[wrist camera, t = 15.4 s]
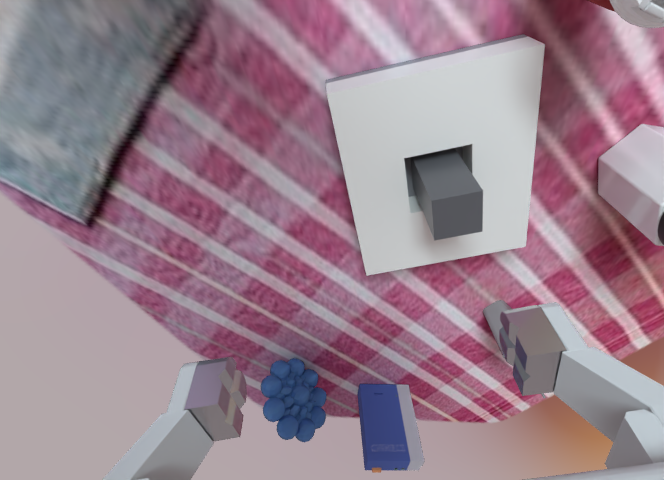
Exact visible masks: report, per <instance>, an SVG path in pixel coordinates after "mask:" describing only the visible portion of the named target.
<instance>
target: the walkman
mask: <svg viewBox="0 0 664 480" xmlns="http://www.w3.org/2000/svg"><path fill="white" fill-rule="evenodd" d="M358 404H359V414H360V424H361V435H362V445H363V456H364V465H365V470H372V472H381V470H419V469H420V467H421V466H422V465H423V464H424V457H423V451H422V447H421V442H420V437H419V432H418V427H417V423H416V418H415V413H414V408H413V404H412V399H411V394H410V390H409V385H398V384H396V385H393V384H360V385H359V390H358Z"/></svg>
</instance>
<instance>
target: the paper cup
mask: <svg viewBox="0 0 664 480" xmlns="http://www.w3.org/2000/svg"><path fill="white" fill-rule="evenodd" d="M587 1H590V2H592V3H595V4H597V5H599V6H602V7H604V8H607V9H609V10H612V11H615V12H616V13H617V14H618V15H619V16H620V17H621V18H622V19H624V20H625V21H627V22H628V23H630V24H633V25H636V26H639V27H645V28H660V27H664V0H587Z"/></svg>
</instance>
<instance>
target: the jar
mask: <svg viewBox="0 0 664 480" xmlns="http://www.w3.org/2000/svg"><path fill="white" fill-rule="evenodd" d="M598 194H599V195H600V196H601V197H603V198H604V199H605V200H606V201H607V202H608V203H609V204H610V205H611V206H613V207H614V208H615V209H616V210H617V211H618V212H619V213H620V214H621V215H623V216H624V217H625V218H626V219H627V220H628V221H629V222H630V223H631V224H633V225H634V226H635V227H636V228H637V229H638V230H639V231H640V232H641V233H643V234H644V235H645V236H646V237H647V238H648V239H649V240H650V241H652V242H653V243H654V244H655V245H660V246H664V127H659V126H653V125H646V124H641V125H639V126H638V127H637V128H635V129H634V130H633V131H632V132H630V133H629V134H628V135H627V136H625V137H624V138H623V139H622V140H620V141H619V142H618V143H616V144H615V145H614V146H613V147H611V148H610V149H609V150H608V151H606V152H605V153H604V154H602V155H601V156H600V157H599V161H598Z"/></svg>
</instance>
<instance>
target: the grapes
mask: <svg viewBox="0 0 664 480" xmlns="http://www.w3.org/2000/svg"><path fill="white" fill-rule="evenodd" d="M304 369H305V366H304V363H303V362H302V361H301V360H299V359H296V358H295V359H291V360H290V361H288V362H285V361H282V360H280V361H276V362H275V363H273V364H272V366H271V369H270V374H271V375H270V376H267V377H266V378H265V379H263V381H262V383H261V391H262V394H263V395H264V396H265V397H268V398H270V399H269V400H267V401H266V402H265V405H264V407H263V414H264V416H265V418H266V419H267V420H268V421H272V422H275V421H279V422H278V424H277V432H278V435H279V436H280V437H281V438H282V439H285V440H288V439H292V438H293V437H294V436H296V438H297V439H298V440H299V441H302V442H306V441H309V440H310V439H311V438H312V437H313V435H314V433H315V429H317V428H320V427H321V426H322V425H323V424H324V422H325V419H326V414H325V411H324V410H323V409H322V408H321V407H322V406H323V405H324V404H325V401H326V392H325V391H324V390H323V389H322V388H319V387H316V388H314V387H315V386H316V385H317V382H318V374H317V373H316V372H315V371H314V370H311V369H307V370H304Z"/></svg>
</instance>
